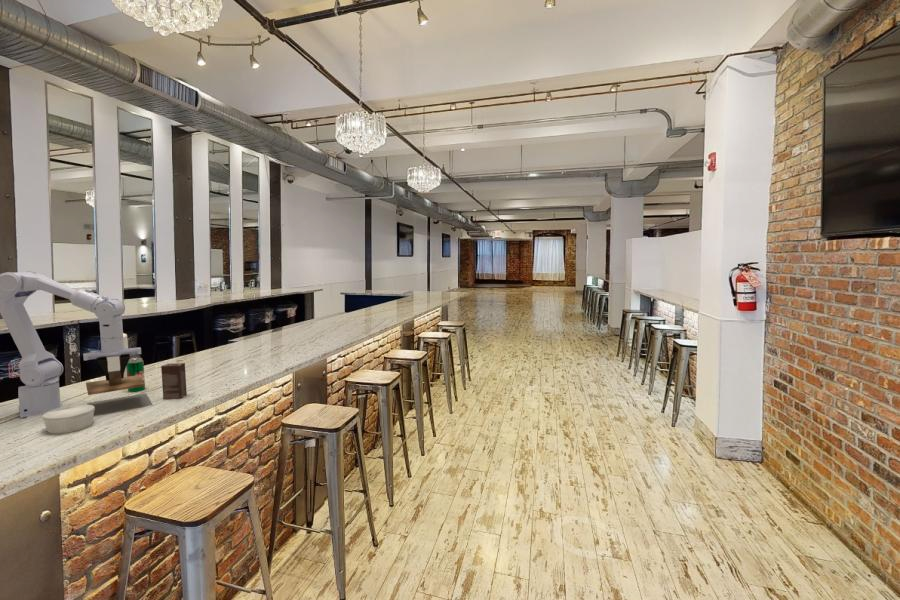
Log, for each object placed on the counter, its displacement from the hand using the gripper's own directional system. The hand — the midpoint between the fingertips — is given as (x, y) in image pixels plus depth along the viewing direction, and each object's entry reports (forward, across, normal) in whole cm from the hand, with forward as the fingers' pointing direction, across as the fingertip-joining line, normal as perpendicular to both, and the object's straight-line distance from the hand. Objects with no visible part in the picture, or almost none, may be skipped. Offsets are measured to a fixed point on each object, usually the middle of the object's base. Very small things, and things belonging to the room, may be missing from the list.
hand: (114, 378), depth 139 cm
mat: (+9, +1, +1) cm, 9 cm away
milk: (+10, +3, +29) cm, 31 cm away
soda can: (+10, +7, +16) cm, 20 cm away
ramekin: (+10, -12, -13) cm, 20 cm away
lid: (+2, 0, 0) cm, 2 cm away
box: (+10, +16, -2) cm, 19 cm away
